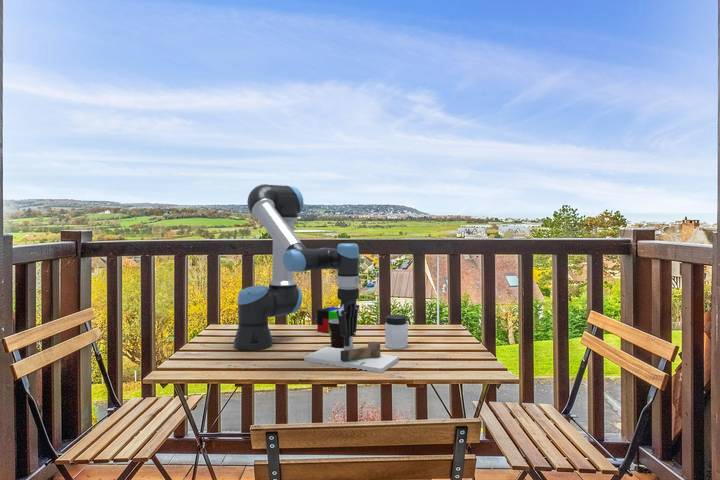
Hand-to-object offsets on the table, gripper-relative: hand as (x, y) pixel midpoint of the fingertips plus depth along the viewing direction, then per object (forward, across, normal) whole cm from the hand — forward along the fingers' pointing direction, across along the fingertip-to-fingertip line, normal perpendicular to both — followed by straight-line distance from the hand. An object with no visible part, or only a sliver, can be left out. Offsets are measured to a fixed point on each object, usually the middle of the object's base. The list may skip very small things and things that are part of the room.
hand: (348, 354), depth 159 cm
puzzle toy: (+4, +39, +29) cm, 49 cm away
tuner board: (+3, +2, 0) cm, 4 cm away
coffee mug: (+3, +19, +14) cm, 24 cm away
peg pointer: (+1, +2, -4) cm, 5 cm away
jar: (+3, +27, -7) cm, 28 cm away
